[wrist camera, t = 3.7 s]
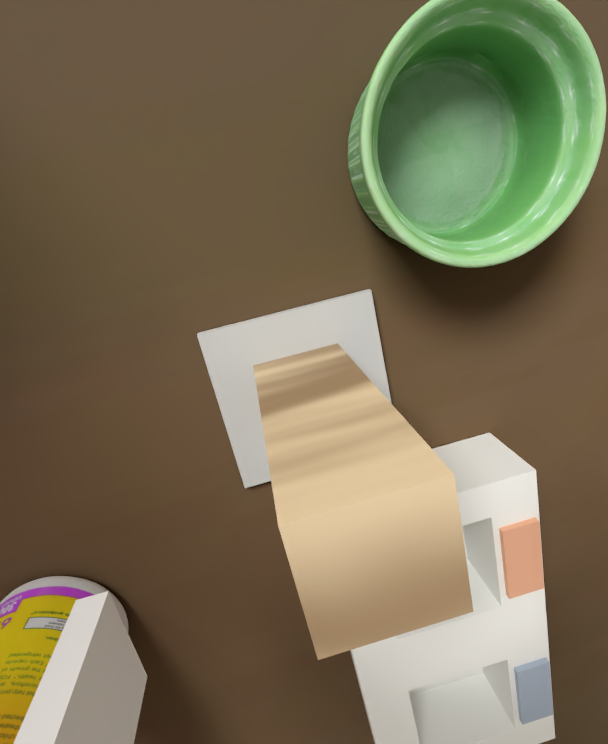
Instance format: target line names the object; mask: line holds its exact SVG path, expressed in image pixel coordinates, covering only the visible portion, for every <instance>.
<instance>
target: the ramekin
mask: <svg viewBox="0 0 608 744" xmlns="http://www.w3.org/2000/svg"><path fill="white" fill-rule="evenodd" d="M605 121H606V96H605V88H604V81H603V75H602V71H601V67H600V63H599V60H598V57H597V54H596V51H595V49H594V47H593V45H592V43H591V41H590V39H589V37H588V35H587V33H586V32H585V30H584V29H583V27H582V26H581V24H580V23H579V22H578V21H577V19H576V18H575V17H574V16H573V15H572V14H571V13H570V12H569V10H568V9H567V8H566V7H565V6H563V5H562V4H561V3H560V2H558V1H557V0H430V1H429V2H428V3H426V4H425V5H424V6H422V7H421V8H420V9H419V10H418V11H417V12H415V13H414V14H413V15H412V16H411V17H410V18H409V19H408V20H407V21H406V23H405V24H404V25H403V26H402V27H401V28H400V30H399V31H398V32H397V33H396V35H395V36H394V37H393V39H392V40H391V42H390V43H389V45H388V46H387V48H386V49H385V51H384V53H383V54H382V56H381V58H380V60H379V62H378V64H377V66H376V68H375V70H374V72H373V75H372V77H371V79H370V82H369V83H368V85H367V87H366V88H365V90H364V92H363V93H362V95H361V98H360V100H359V103H358V105H357V107H356V109H355V112H354V116H353V119H352V122H351V126H350V133H349V138H348V167H349V173H350V178H351V182H352V186H353V188H354V191H355V194H356V196H357V199H358V201H359V203H360V204H361V206H362V208H363V210H364V211H365V212H366V214H367V215H368V217H369V218H370V219H371V220H372V221H373V222H374V223H375V225H376V226H377V227H378V228H379V229H381V230H382V231H383V232H385V233H386V234H387V235H388V236H389V237H391V238H393V239H395V240H397V241H399V242H400V243H402V244H404V245H406V246H408V247H409V248H410V249H412V250H413V251H415V252H417V253H418V254H420V255H422V256H424V257H426V258H428V259H430V260H433V261H435V262H438V263H441V264H445V265H449V266H455V267H462V268H478V267H486V266H493V265H497V264H501V263H505V262H507V261H510V260H512V259H515V258H517V257H519V256H521V255H523V254H525V253H527V252H529V251H530V250H532V249H534V248H535V247H536V246H538V245H539V244H541V243H542V242H543V241H544V240H546V239H547V238H548V237H549V236H550V235H551V234H552V233H554V232H555V231H556V230H557V229H558V228H559V227H560V226H561V224H562V223H563V222H564V221H565V220H566V219H567V218H568V216H569V215H570V214H571V213H572V211H573V210H574V208H575V207H576V205H577V204H578V203H579V201H580V199H581V197H582V196H583V194H584V192H585V190H586V189H587V187H588V185H589V182H590V180H591V178H592V175H593V173H594V170H595V168H596V165H597V162H598V159H599V155H600V152H601V146H602V142H603V137H604V131H605Z"/></svg>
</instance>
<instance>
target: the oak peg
mask: <svg viewBox="0 0 608 744" xmlns="http://www.w3.org/2000/svg"><path fill="white" fill-rule="evenodd" d="M253 368H254V375H255V381H256V387H257V394H258V400H259V406H260V413H261V419H262V425H263V432H264V438H265V445H266V451H267V457H268V464H269V470H270V476H271V483H272V489H273V495H274V502H275V508H276V515H277V521H278V526H279V530H280V533H281V537H282V540H283V543H284V547H285V550H286V554H287V557H288V560H289V564H290V567H291V571H292V574H293V577H294V581H295V584H296V588H297V591H298V594H299V598H300V601H301V604H302V608H303V611H304V615H305V618H306V621H307V625H308V628H309V632H310V635H311V638H312V642H313V645H314V649H315V652H316V655H317V659H318V660H320V659H323V658H326V657H330V656H333V655H336V654H339V653H343V652H346V651H349V650H352V649H355V648H359V647H362V646H365V645H368V644H371V643H375V642H378V641H381V640H384V639H388V638H391V637H394V636H397V635H400V634H404V633H407V632H410V631H413V630H416V629H420V628H423V627H426V626H429V625H432V624H436V623H439V622H442V621H445V620H449V619H452V618H455V617H458V616H461V615H465V614H468V613H471V612H473V605H472V597H471V590H470V583H469V576H468V569H467V561H466V554H465V547H464V540H463V533H462V525H461V518H460V511H459V504H458V496H457V489H456V482H455V475H454V473H453V472H452V471H451V470H450V469H449V468H448V467H447V466H446V464H445V463H444V462H443V461H442V460H441V459H440V458H439V457H438V456H437V454H436V453H435V452H434V451H433V450H432V449H431V448H430V447H429V445H428V444H427V443H426V442H425V441H424V440H423V439H422V438H421V436H420V435H419V434H418V433H417V432H416V431H415V430H414V429H413V427H412V426H411V425H410V424H409V423H408V422H407V421H406V420H405V418H404V417H403V416H402V415H401V414H400V413H399V412H398V411H397V410H396V408H395V407H394V406H393V405H392V404H391V403H390V402H389V401H388V399H387V398H386V397H385V396H384V395H383V394H382V393H381V392H380V390H379V389H378V388H377V387H376V386H375V385H374V384H373V383H372V381H371V380H370V379H369V378H368V377H367V376H366V375H365V374H364V373H363V371H362V370H361V369H360V368H359V367H358V366H357V365H356V364H355V362H354V361H353V360H352V359H351V358H350V357H349V356H348V355H347V353H346V352H345V351H344V350H343V349H342V348H341V347H340V346H339V344H338V343H337V344H333V345H329V346H325V347H321V348H318V349H314V350H310V351H306V352H302V353H299V354H295V355H291V356H287V357H283V358H280V359H276V360H272V361H268V362H264V363H261V364H257V365H253Z"/></svg>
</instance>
